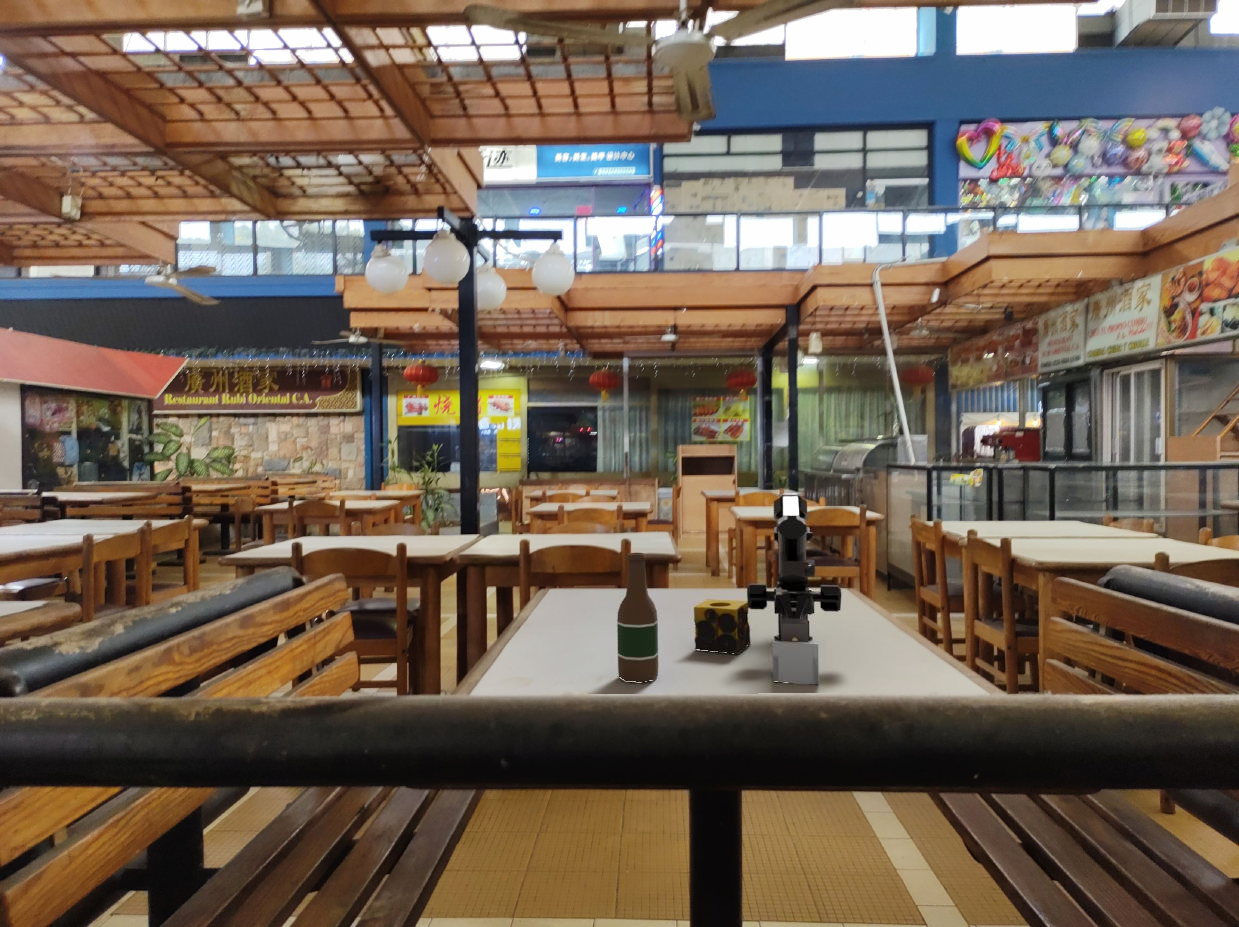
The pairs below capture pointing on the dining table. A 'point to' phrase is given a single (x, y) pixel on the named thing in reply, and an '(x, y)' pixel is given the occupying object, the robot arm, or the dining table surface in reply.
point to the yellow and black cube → (722, 626)
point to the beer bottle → (637, 626)
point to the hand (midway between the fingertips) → (794, 632)
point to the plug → (794, 630)
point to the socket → (795, 662)
